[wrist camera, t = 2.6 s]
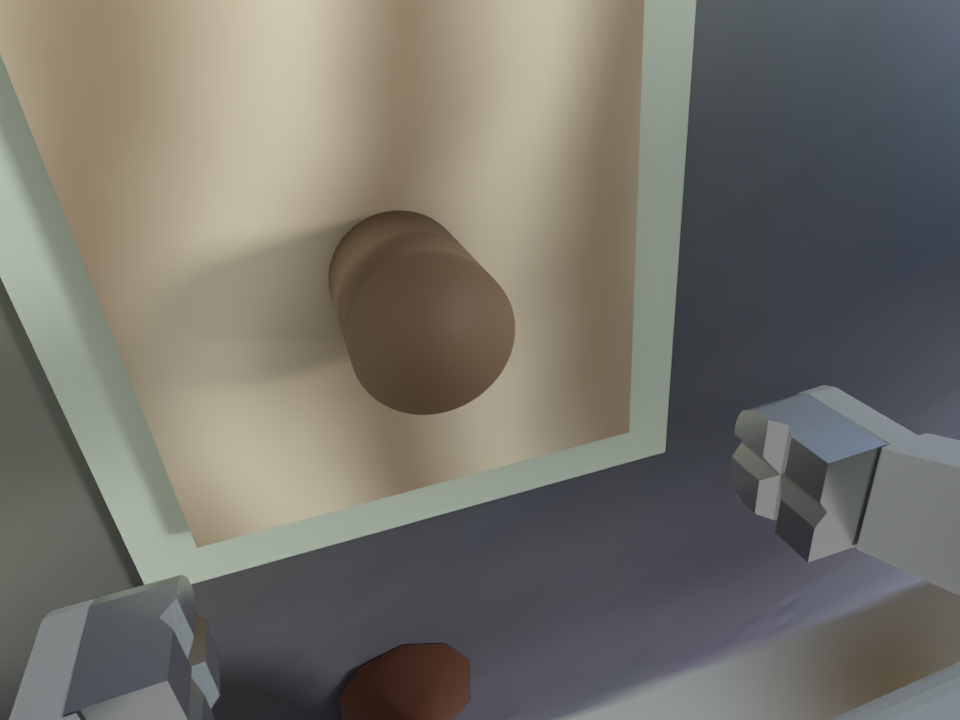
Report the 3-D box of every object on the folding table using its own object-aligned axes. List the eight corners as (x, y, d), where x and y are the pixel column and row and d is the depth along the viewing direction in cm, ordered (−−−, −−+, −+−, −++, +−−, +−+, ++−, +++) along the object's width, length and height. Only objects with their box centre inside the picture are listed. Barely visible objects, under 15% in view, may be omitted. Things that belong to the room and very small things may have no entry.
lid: (629, -51, 16) (759, -76, 12) (617, 420, 23) (697, 506, 19) (-8, -1, 13) (-126, -12, 9) (198, 530, 20) (185, 662, 16)
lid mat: (696, -152, 16) (707, -155, 16) (659, 446, 24) (665, 452, 24) (-174, -116, 12) (-186, -120, 11) (151, 586, 20) (149, 595, 20)
